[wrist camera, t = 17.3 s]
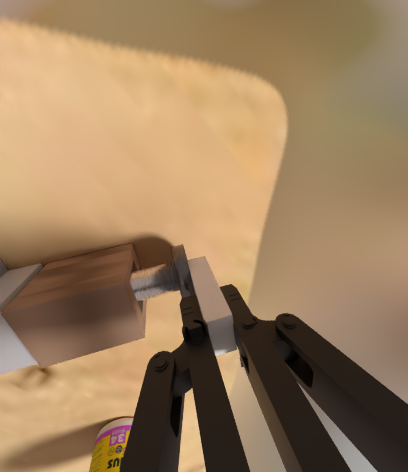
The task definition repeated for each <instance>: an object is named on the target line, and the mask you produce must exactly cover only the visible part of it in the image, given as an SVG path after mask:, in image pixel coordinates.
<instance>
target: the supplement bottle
mask: <svg viewBox="0 0 408 472" xmlns="http://www.w3.org/2000/svg"><path fill="white" fill-rule="evenodd" d="M132 422H133V418H121V419H117V420H114V421H112V422H110V423H108V424H107V425H106V426H104V427H103V428H102V429H101V430H100V432H99V433H98V435H97V438H96V442H95V446H94V450H93V455H92V460H91V465H90V470H89V472H119V471H120V467H121V463H122V459H123V456H124V452H125V448H126V444H127V441H128V437H129V433H130V429H131V426H132Z"/></svg>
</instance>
